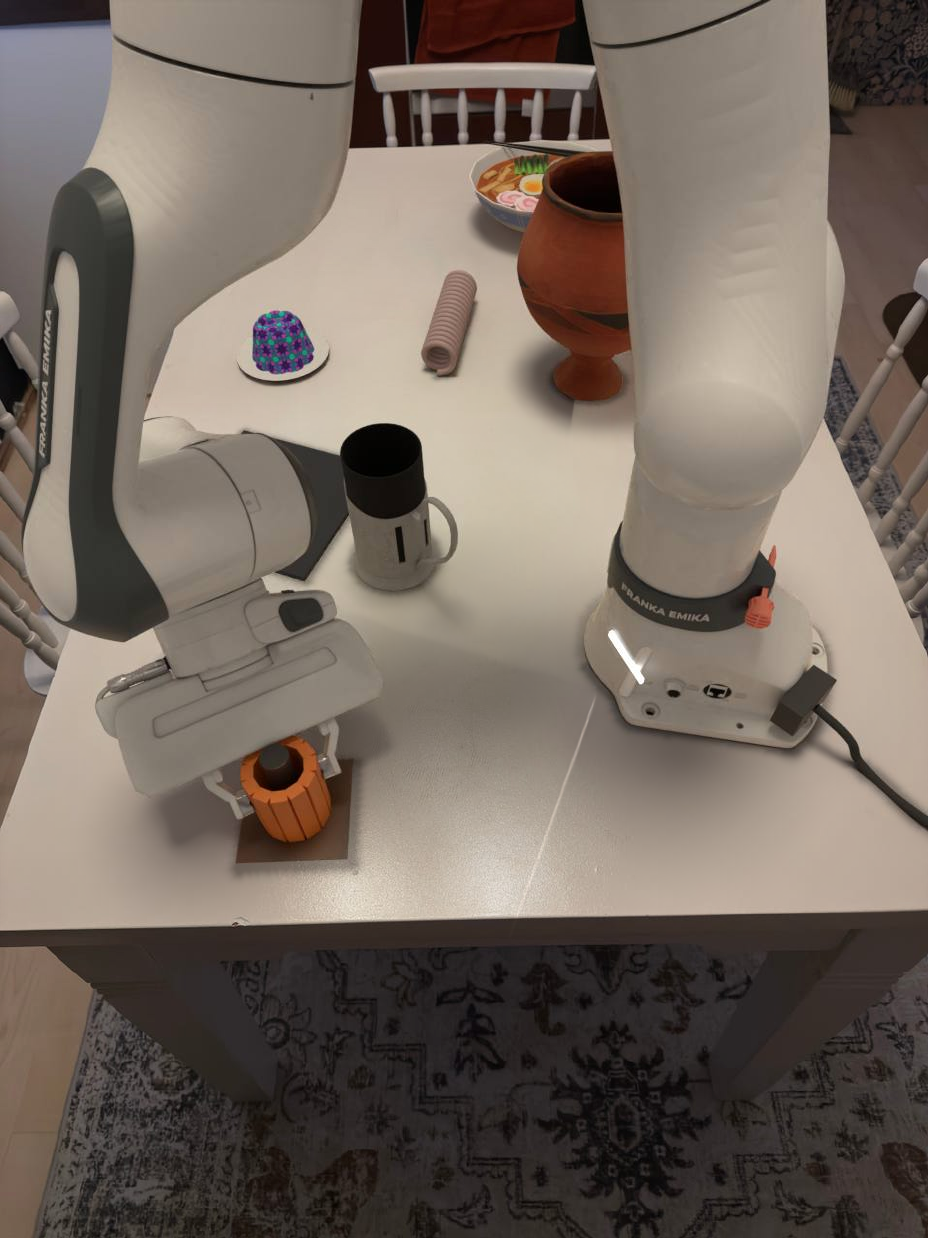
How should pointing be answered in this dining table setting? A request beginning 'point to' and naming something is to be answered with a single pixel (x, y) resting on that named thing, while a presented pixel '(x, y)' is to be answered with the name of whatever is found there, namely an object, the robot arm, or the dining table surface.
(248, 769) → the orange grooved hollow cylinder
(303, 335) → the pudding
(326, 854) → the stake stand
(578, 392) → the goblet
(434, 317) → the coil
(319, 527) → the mat
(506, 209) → the ramen bowl
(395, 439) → the glass holder
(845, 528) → the dining table surface
